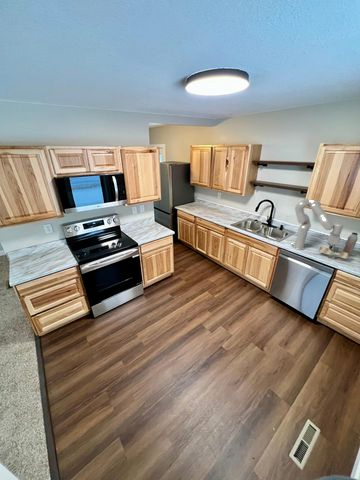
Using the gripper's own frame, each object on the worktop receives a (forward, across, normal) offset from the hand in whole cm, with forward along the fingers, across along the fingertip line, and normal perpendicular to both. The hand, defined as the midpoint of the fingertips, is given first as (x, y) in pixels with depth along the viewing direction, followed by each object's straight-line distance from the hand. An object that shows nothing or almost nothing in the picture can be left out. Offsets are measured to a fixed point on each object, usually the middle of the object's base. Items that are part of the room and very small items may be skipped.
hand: (330, 248), depth 218 cm
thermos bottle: (+10, +16, +16) cm, 25 cm away
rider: (+4, +5, 0) cm, 6 cm away
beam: (+10, +3, 0) cm, 10 cm away
